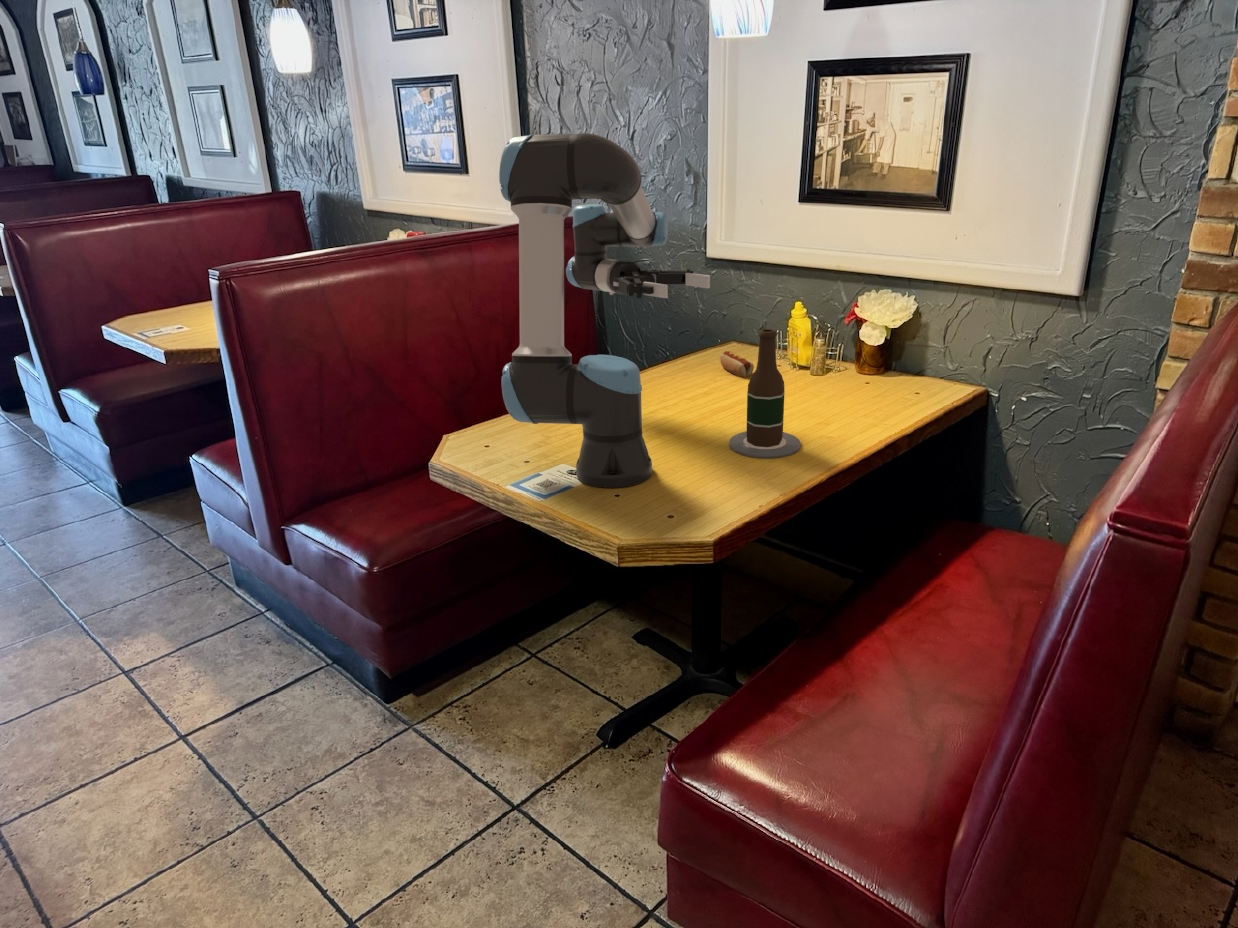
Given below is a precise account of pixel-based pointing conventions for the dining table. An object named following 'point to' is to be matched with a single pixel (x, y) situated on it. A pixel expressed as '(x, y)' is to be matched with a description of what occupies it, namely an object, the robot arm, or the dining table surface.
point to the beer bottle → (765, 396)
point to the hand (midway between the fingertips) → (688, 286)
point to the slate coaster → (785, 447)
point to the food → (736, 364)
